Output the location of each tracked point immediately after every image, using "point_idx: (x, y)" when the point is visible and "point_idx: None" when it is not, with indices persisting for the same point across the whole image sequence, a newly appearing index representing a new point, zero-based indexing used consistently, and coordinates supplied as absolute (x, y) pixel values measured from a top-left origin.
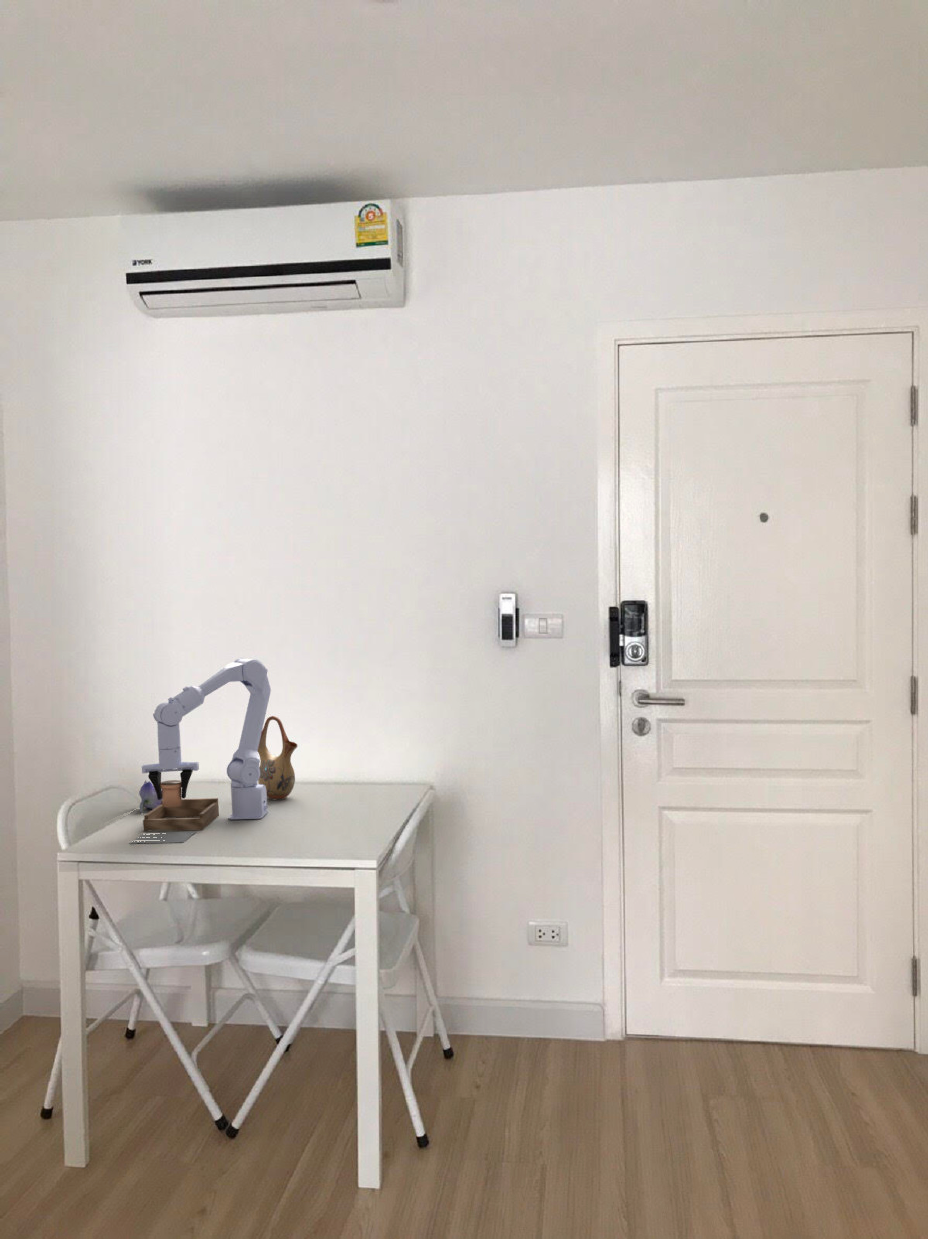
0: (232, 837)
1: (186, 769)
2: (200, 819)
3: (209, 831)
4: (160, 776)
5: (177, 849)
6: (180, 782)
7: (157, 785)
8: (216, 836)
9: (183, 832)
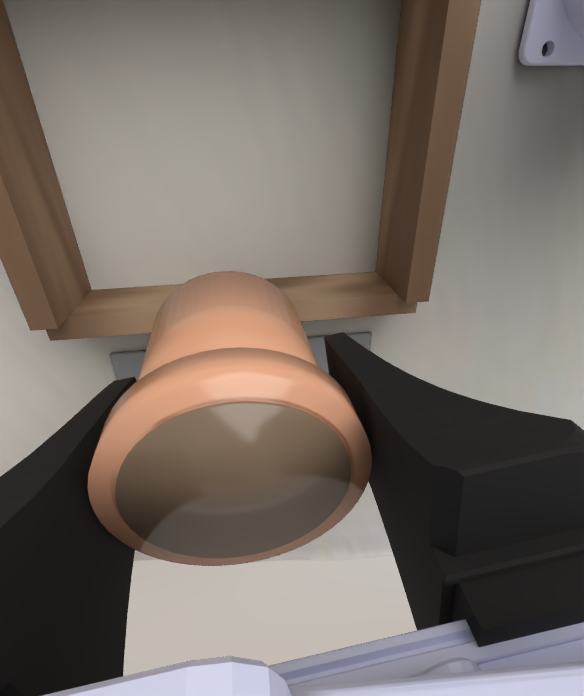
0: (528, 395)
1: (544, 659)
2: (404, 310)
3: (429, 315)
4: (29, 567)
5: (357, 512)
6: (349, 466)
7: (123, 569)
8: (467, 385)
9: (315, 347)
